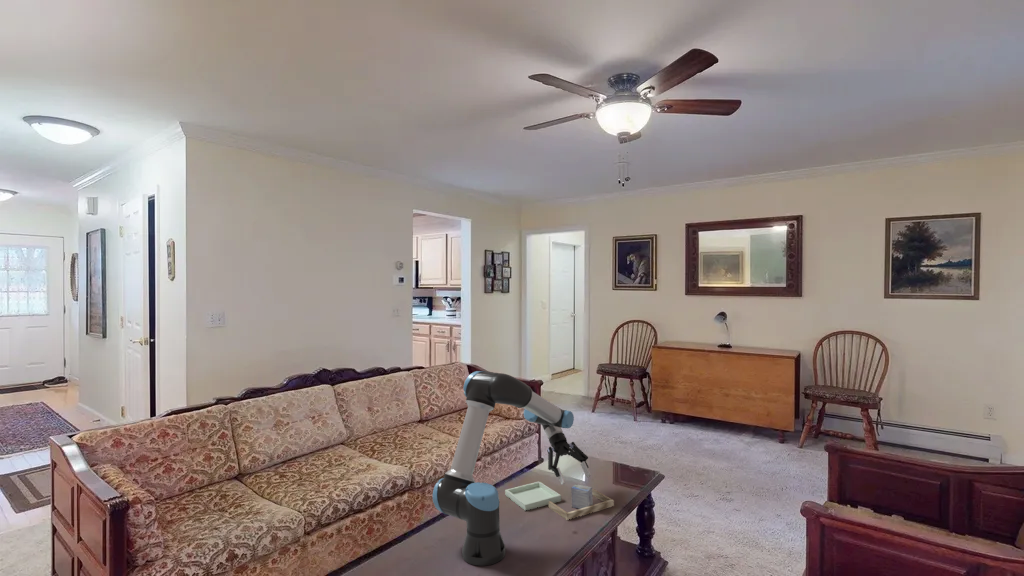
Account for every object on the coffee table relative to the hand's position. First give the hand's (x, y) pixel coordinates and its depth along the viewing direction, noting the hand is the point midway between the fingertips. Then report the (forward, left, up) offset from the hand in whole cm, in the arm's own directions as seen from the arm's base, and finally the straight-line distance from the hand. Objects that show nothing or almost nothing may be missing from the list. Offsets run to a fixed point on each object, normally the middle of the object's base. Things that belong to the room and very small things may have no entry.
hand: (576, 479), depth 214 cm
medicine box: (-1, -5, -10) cm, 11 cm away
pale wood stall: (-1, -5, -10) cm, 11 cm away
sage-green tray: (-14, +14, -10) cm, 22 cm away
